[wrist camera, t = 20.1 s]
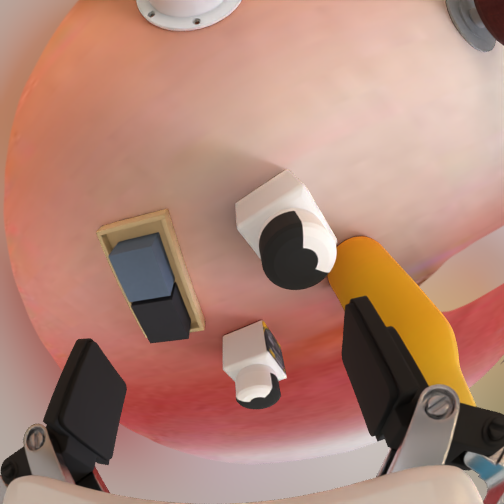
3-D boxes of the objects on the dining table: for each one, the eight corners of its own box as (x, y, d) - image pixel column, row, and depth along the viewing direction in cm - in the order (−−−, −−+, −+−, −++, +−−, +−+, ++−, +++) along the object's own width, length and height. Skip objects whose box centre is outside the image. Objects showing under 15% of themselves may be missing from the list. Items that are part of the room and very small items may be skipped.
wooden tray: (102, 225, 34) (95, 232, 32) (167, 208, 33) (164, 214, 31) (148, 328, 42) (145, 338, 40) (205, 320, 42) (204, 330, 40)
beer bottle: (311, 274, 39) (394, 474, 14) (352, 222, 36) (496, 401, 10) (355, 298, 42) (439, 462, 17) (392, 252, 39) (513, 403, 13)
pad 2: (137, 288, 38) (130, 306, 34) (176, 281, 38) (171, 299, 34) (155, 325, 41) (150, 343, 37) (191, 320, 41) (188, 338, 37)
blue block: (118, 241, 34) (107, 256, 31) (159, 231, 34) (151, 246, 30) (136, 285, 37) (129, 302, 34) (175, 278, 37) (170, 295, 34)
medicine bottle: (280, 345, 46) (293, 404, 35) (243, 360, 47) (247, 418, 36) (262, 318, 42) (272, 381, 32) (221, 335, 43) (222, 397, 33)
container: (268, 249, 37) (286, 314, 26) (233, 203, 34) (236, 254, 22) (319, 217, 35) (359, 270, 24) (287, 167, 32) (320, 199, 21)
